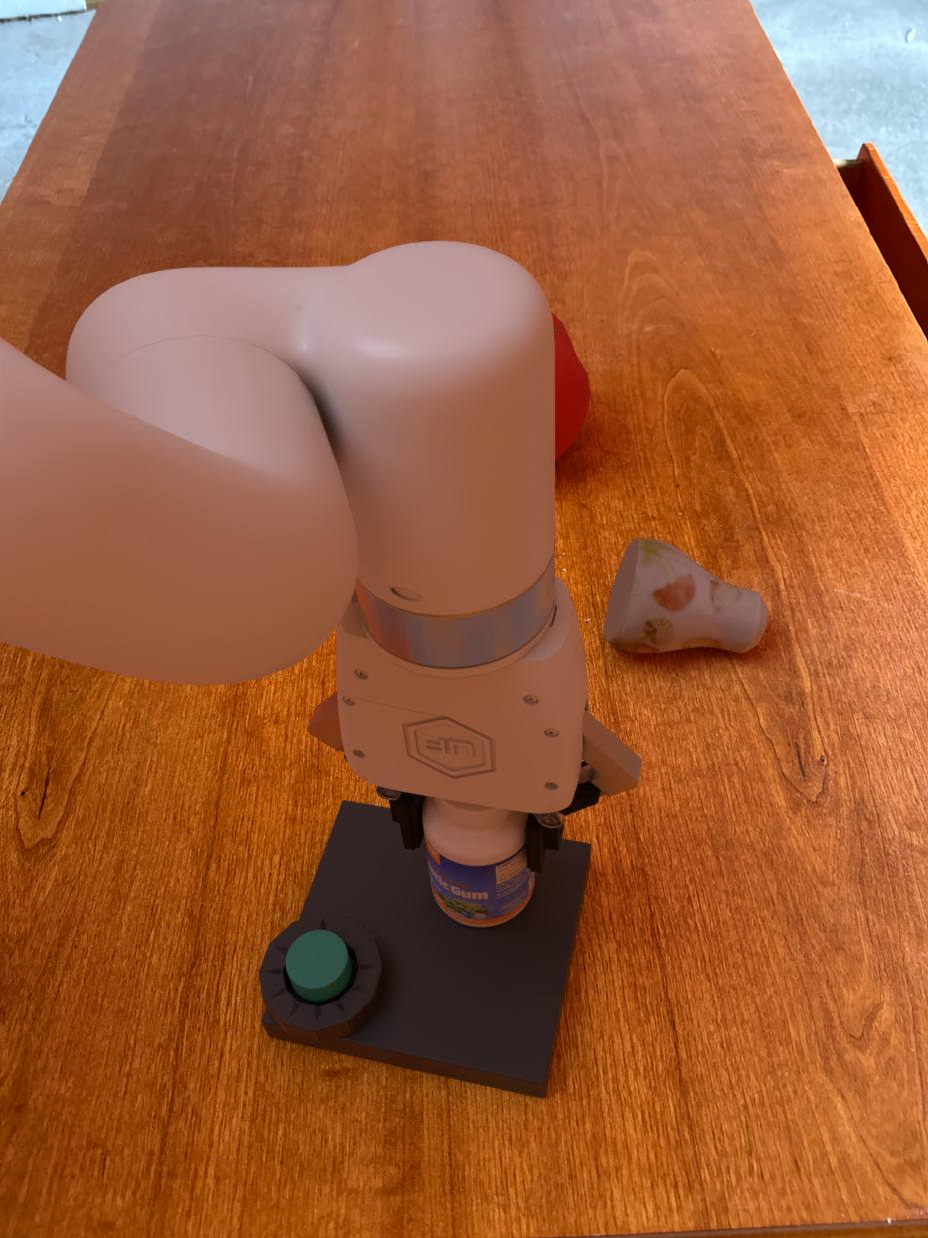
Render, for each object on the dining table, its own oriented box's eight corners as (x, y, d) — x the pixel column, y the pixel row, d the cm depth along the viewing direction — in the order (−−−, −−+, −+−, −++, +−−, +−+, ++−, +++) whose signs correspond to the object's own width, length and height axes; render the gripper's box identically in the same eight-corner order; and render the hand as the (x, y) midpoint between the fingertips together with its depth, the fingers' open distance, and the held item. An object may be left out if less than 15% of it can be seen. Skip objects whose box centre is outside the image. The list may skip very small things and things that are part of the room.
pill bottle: (410, 890, 59) (390, 784, 52) (477, 821, 62) (466, 710, 55) (490, 951, 57) (480, 848, 50) (556, 876, 60) (556, 768, 52)
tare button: (282, 995, 55) (276, 981, 54) (302, 938, 57) (297, 924, 56) (341, 1008, 54) (336, 994, 53) (360, 950, 56) (355, 935, 55)
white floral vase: (777, 687, 70) (713, 608, 63) (634, 697, 75) (560, 625, 68) (787, 582, 73) (726, 496, 66) (649, 599, 79) (580, 521, 72)
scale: (256, 1044, 56) (241, 1014, 54) (339, 816, 65) (330, 781, 63) (543, 1109, 53) (542, 1081, 51) (590, 861, 62) (592, 826, 60)
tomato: (609, 488, 83) (615, 350, 74) (416, 523, 81) (399, 387, 73) (562, 382, 92) (562, 249, 83) (387, 413, 90) (369, 280, 82)
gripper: (205, 619, 42) (290, 870, 55) (673, 687, 39) (644, 938, 52) (275, 486, 47) (337, 747, 60) (697, 536, 43) (664, 801, 57)
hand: (479, 833), depth 56 cm, fingers closed on pill bottle, 5 cm apart
